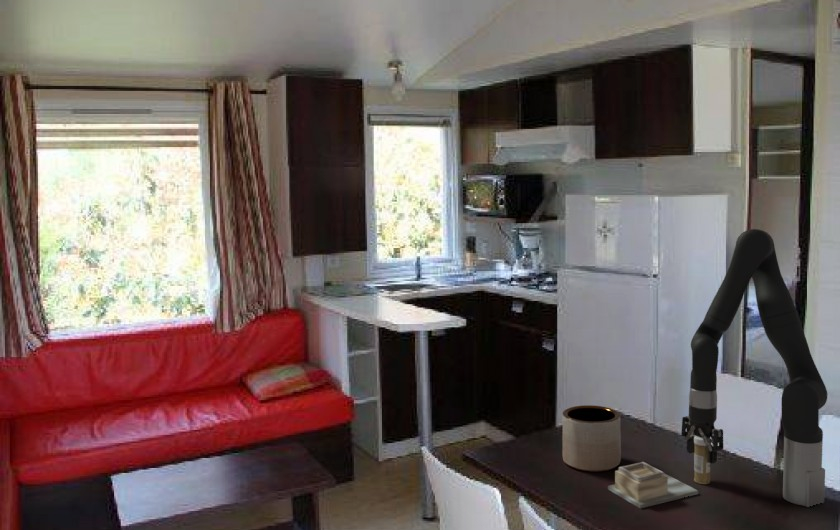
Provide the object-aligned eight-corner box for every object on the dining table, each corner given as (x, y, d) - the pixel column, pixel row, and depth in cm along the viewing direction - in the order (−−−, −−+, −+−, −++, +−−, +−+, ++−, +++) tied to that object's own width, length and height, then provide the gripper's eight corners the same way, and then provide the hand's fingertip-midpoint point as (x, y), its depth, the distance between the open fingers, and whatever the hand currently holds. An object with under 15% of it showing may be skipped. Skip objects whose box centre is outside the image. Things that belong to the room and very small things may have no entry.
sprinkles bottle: (713, 484, 216) (714, 438, 214) (698, 485, 215) (698, 440, 213) (705, 477, 220) (705, 433, 219) (690, 479, 220) (691, 434, 218)
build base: (698, 494, 209) (698, 469, 209) (640, 508, 202) (640, 482, 201) (663, 476, 222) (663, 452, 221) (607, 489, 215) (607, 465, 214)
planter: (622, 474, 225) (622, 423, 223) (562, 471, 228) (561, 421, 226) (619, 452, 242) (619, 405, 240) (563, 450, 246) (562, 404, 244)
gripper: (731, 408, 210) (729, 464, 212) (695, 394, 223) (694, 447, 225) (710, 412, 207) (709, 468, 209) (675, 398, 220) (674, 451, 223)
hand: (701, 457), depth 217 cm, fingers open, 8 cm apart
